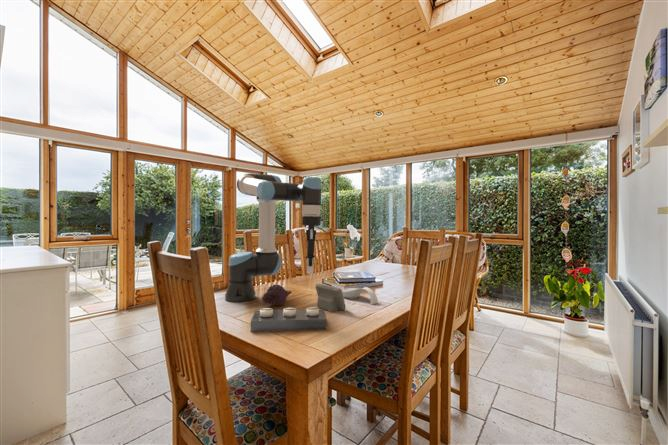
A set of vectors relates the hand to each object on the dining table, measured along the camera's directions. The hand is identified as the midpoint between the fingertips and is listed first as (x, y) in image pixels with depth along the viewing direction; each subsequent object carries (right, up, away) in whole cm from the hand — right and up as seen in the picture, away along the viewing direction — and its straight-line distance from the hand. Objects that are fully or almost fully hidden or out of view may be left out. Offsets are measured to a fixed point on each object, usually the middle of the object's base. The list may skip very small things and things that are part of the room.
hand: (310, 273), depth 125 cm
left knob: (-17, -19, -5) cm, 26 cm away
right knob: (+1, -19, -3) cm, 19 cm away
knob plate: (-8, -20, -4) cm, 21 cm away
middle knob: (-8, -19, -4) cm, 21 cm away
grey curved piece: (+22, -20, +36) cm, 46 cm away
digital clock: (+8, -20, +20) cm, 29 cm away
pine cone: (-18, -19, +22) cm, 34 cm away
